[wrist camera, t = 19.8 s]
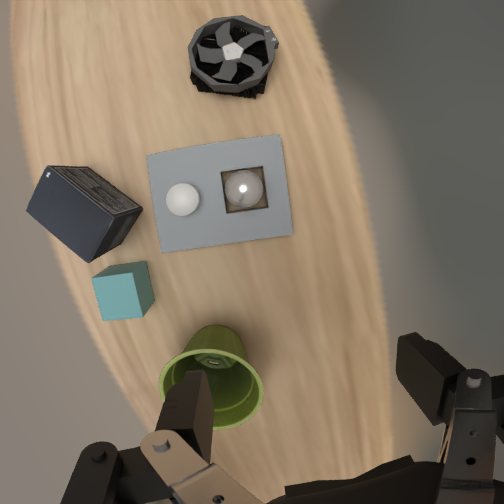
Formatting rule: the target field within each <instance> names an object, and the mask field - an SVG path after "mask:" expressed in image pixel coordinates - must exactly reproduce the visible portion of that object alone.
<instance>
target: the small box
mask: <svg viewBox="0 0 504 504" xmlns="http://www.w3.org/2000/svg"><path fill="white" fill-rule="evenodd" d="M142 210H143V209H142V207H141V206H139V205H138V204H137V203H135V202H134V201H133V200H131V199H130V198H129V197H127V196H126V195H125V194H124V193H122V192H121V191H119V190H118V189H117V188H115V187H114V186H113V185H111V184H110V183H109V182H108V181H106V180H105V179H103V178H102V177H101V176H99V175H98V174H97V173H95V172H94V171H93V170H91V169H90V168H89V167H74V166H49V165H48V166H46V168H45V170H44V172H43V174H42V176H41V178H40V180H39V182H38V184H37V186H36V188H35V190H34V193H33V195H32V197H31V199H30V201H29V204H28V206H27V208H26V211H27V212H28V213H29V214H30V215H31V216H32V217H33V218H34V219H36V220H37V221H38V222H39V223H40V224H41V225H42V226H44V227H45V228H46V229H47V230H48V231H49V232H51V233H52V234H53V235H54V236H55V237H57V238H58V239H59V240H60V241H61V242H62V243H64V244H65V245H66V246H67V247H68V248H70V249H71V250H72V251H73V252H74V253H76V254H77V255H78V256H79V257H81V258H82V259H83V260H84V261H85V262H87V263H90V262H92V261H93V260H95V259H96V258H98V257H100V256H101V255H103V254H105V253H106V252H108V251H110V250H112V249H113V248H115V247H117V246H119V245H121V243H122V242H123V240H124V239H125V237H126V235H127V234H128V232H129V231H130V229H131V227H132V226H133V224H134V222H135V221H136V219H137V218H138V216H139V215H140V213H141V212H142Z"/></svg>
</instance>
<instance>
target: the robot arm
mask: <svg viewBox="0 0 504 504" xmlns="http://www.w3.org/2000/svg"><path fill="white" fill-rule="evenodd" d="M396 374H397V377H398V380H399V381H400V382H401V384H402V385H403V386H404V388H405V389H406V390H407V392H408V393H409V394H410V396H411V397H412V398H413V399H414V401H415V402H416V403H417V405H418V406H419V407H420V409H421V410H422V411H423V413H424V414H425V415H426V417H427V418H428V419H429V420H430V422H431V423H432V425H433V426H435V425H438V424H440V423H443V422H444V423H445V424H446V426H445V429H444V433H443V438H442V443H441V447H440V451H439V455H438V460H437V462H429V461H426V462H425V461H422V462H414V461H413V459H412V458H411V456H410V455H408V456H405V457H402V458H399V459H396V460H393V461H390V462H387V463H384V464H381V465H379V466H377V467H375V468H374V469H372V470H370V471H368V472H366V473H364V474H362V475H360V476H358V477H356V478H354V479H347V480H318V481H312V482H307V483H301V484H295V485H289V486H285V494H286V495H283V496H280V497H278V498H276V499H274V500H272V501H270V502H268V503H266V504H504V482H502V481H498V480H495V479H493V474H494V464H495V451H496V435H497V436H498V437H499V438H500V440H501V441H502V442H503V444H504V375H499V376H494V377H490V375H489V374H488V373H487V372H486V371H484V370H481V369H476V368H471V369H466V368H465V367H464V366H463V365H461V364H460V363H459V362H458V361H457V360H456V359H455V358H454V357H452V356H450V354H449V353H448V352H447V351H445V350H444V349H443V348H442V347H441V346H440V345H439V344H437V343H435V342H432V341H429V340H425V339H424V338H423V337H421V336H420V335H419V334H418V333H416V332H414V333H410V334H406V335H403V336H400V337H399V339H398V345H397V359H396ZM162 408H163V409H162V410H161V413H160V416H159V419H158V423H157V426H156V429H155V432H152V433H150V434H148V435H147V436H146V437H145V438H144V439H143V440H142V442H141V445H140V446H139V447H136V448H131V449H126V450H121V451H118V450H117V448H116V447H115V446H114V445H113V444H111V443H109V442H96V443H93V444H90V445H88V446H87V447H86V448H85V449H84V450H83V451H82V452H81V455H80V457H79V459H78V461H77V464H76V466H75V469H74V471H73V473H72V476H71V479H70V481H69V483H68V486H67V489H66V491H65V493H64V496H63V498H62V501H61V503H60V504H264V503H263V502H261V501H260V500H259V499H258V498H256V497H255V496H254V495H253V494H251V493H250V492H249V491H248V490H246V489H245V488H244V487H243V486H242V485H240V484H239V483H238V482H237V481H236V480H234V479H233V478H232V477H231V476H230V475H229V474H227V473H226V472H225V471H224V470H223V469H222V468H221V467H219V466H218V465H217V464H215V463H212V464H210V455H211V443H212V432H213V421H214V405H213V400H212V396H211V392H210V388H209V384H208V380H207V376H206V373H205V371H204V370H197V371H186V372H185V375H184V379H183V383H182V384H174V385H173V386H172V387H171V388H170V389H169V390H168V392H167V394H166V397H165V402H164V403H163V407H162Z"/></svg>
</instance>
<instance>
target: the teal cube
mask: <svg viewBox="0 0 504 504" xmlns="http://www.w3.org/2000/svg"><path fill="white" fill-rule="evenodd" d="M92 282H93V286H94V290H95V294H96V298H97V302H98V305H99V309H100V313H101V316H102V320H103V321H108V320H119V319H131V318H141V317H143V316H144V315H145V314H146V312H147V311H148V309H149V308H150V306H151V305H152V304H153V302H154V301H155V300H154V295H153V291H152V286H151V282H150V277H149V272H148V268H147V263H146V261H142V262H135V263H128V264H121V265H114V266H109V267H107V268H106V269H104V270H103V271H101V272H100V273H98V274H97V275H95V276H94V277H93V278H92Z"/></svg>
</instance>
